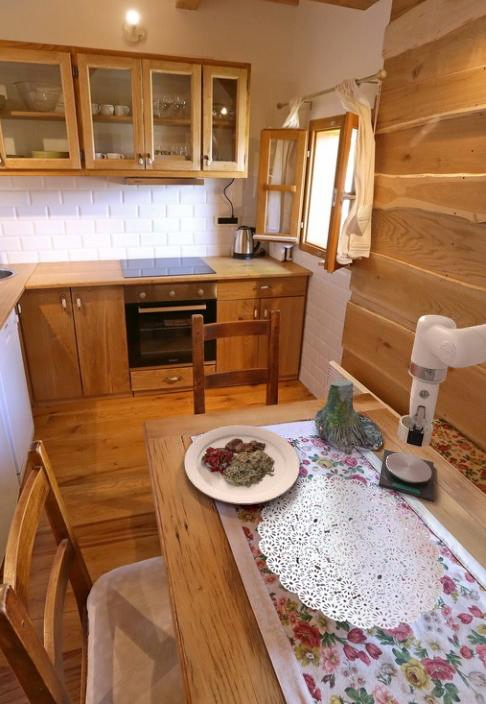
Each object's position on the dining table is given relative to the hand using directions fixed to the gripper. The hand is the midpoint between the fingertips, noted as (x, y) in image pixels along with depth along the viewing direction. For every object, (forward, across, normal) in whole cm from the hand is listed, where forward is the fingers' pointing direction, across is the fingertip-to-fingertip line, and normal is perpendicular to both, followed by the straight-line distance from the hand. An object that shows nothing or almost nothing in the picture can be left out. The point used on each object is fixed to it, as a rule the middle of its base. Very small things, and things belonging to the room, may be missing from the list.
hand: (414, 434), depth 98 cm
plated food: (+14, -13, +39) cm, 44 cm away
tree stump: (+14, +13, +17) cm, 25 cm away
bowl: (+1, 0, 0) cm, 1 cm away
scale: (+13, 0, 0) cm, 13 cm away
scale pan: (+11, 0, 0) cm, 11 cm away
